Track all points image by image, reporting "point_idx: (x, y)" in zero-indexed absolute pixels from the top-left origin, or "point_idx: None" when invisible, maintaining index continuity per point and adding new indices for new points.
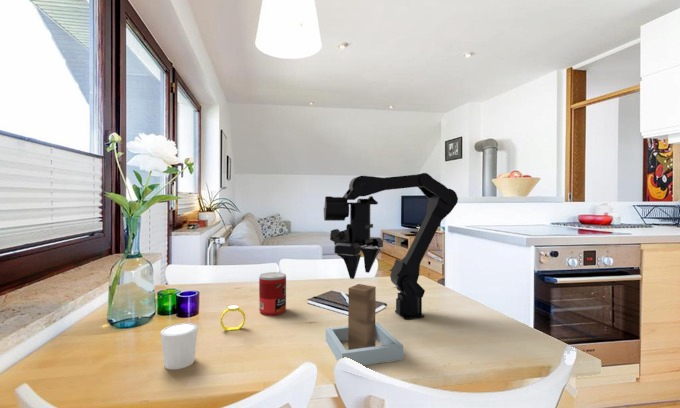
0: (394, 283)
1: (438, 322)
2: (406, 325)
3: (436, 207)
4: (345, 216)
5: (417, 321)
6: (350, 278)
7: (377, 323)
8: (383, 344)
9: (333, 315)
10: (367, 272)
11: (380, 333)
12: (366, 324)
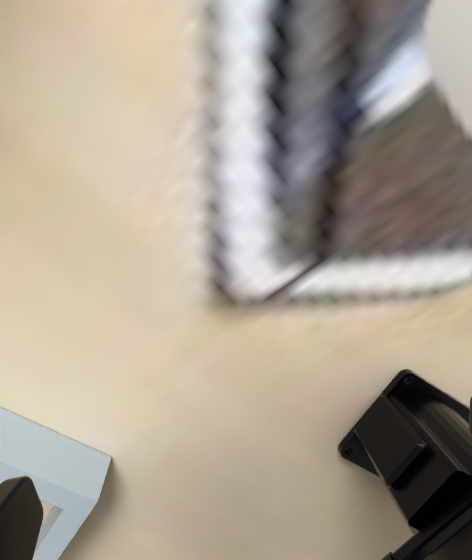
0: (469, 542)
1: (387, 539)
2: (280, 480)
3: None
4: None
5: (350, 487)
6: (9, 482)
7: (83, 507)
8: (43, 523)
9: (144, 135)
10: (469, 418)
11: (43, 533)
12: None
